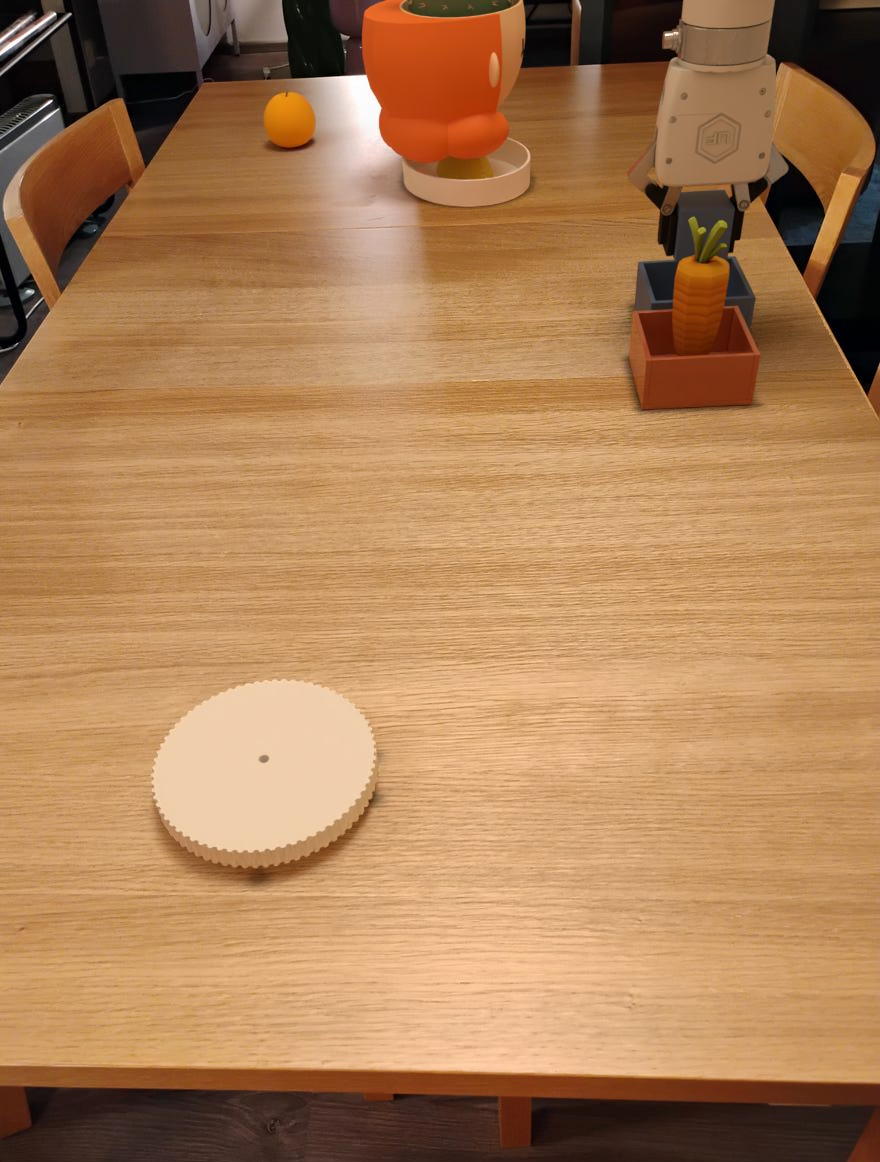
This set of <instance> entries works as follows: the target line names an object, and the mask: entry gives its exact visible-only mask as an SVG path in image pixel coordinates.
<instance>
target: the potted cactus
mask: <svg viewBox="0 0 880 1162" xmlns="http://www.w3.org/2000/svg"><path fill="white" fill-rule="evenodd" d="M526 26H527V25H526V11H525V6H524V0H382V1H379V2H377V3H375V4H373V5H370V6H369V7H368V8H367V9H365V10H364V13H363V18H362V27H361V28H362V30H361V49H362V50H361V51H362V52H361V53H362V60H363V66H364V72H365V75H366V78H367V82H368V85H369V89H370V90H371V92H372V94H373V96H374V97H375V99H376V101H377V103H378V104H379V107H380V112H379V116H378V128H379V130H378V131H379V134H380V136H381V139H382V141H383V143H385V144H386V146H388V147H389V148H391V149H392V151H393V152H394V153H396V154H397V155H399V156H400V157H401V161H402V173H403V174H402V175H403V184H404V186H405V188H406V190H407V191H408V192H410V193H411V194H413V195H414V196H415V197H417V198H420V199H421V200H424V201H427V202H430V203H434V204H438V205H444V206H448V207H449V206H451V207H463V208H471V207H473V208H474V207H475V208H476V207H485V206H486V207H487V206H493V205H497V204H502V203H506V202H509V201H511V200H514V199H516V198H518V197H520V196H521V195H523V194H524V193H525V192H526V191H527V190H528V189H529V187H530V185H531V152H530V150H529V149H528V148H527V147H526V146H525V145H524V144H523V143H521V142H520V141H517V140H516V139H513V138H511V137H508V136H509V134H510V126H509V122H508V120H507V118H506V117H505V115H503V113H501V112H500V111H498V109H499V108H500V107H501V105H502V104H503V103H504V102H505V101H506V99H507V98H508V96H509V94H510V93H511V92H512V91H513V88H514V86H515V84H516V81H517V79H518V76H519V74H520V70H521V67H522V63H523V59H524V57H525V44H526V28H527V27H526Z"/></svg>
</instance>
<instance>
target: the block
mask: <svg viewBox="0 0 880 1162" xmlns="http://www.w3.org/2000/svg"><path fill="white" fill-rule="evenodd" d="M734 211H735V208H734V206H733V204H732V202H731V200H730V196H729V194H728V193H727V191H726V189H711V190H710V189H709V190H693V191H681V193H680V196H679V198H678V201H677V203H676V213H677V215H678V223H677V232H676V241H675V250H674V255H672V258H673V260H674V261H675V263H679V261H681V260H682V259H683V258H686V257H689V256H692V255H695V245H694V240H693V235H692V231H691V228H690V225H689V221H688V220H689V219H690V218H692V217H695V218H696V220H697V223H698V227H699V228H701V227H704V228H705V229H706V234H705V237H704V240H703V245H702V250H703V247H704V245H705V242H706V240H707V238H708V236H709V234H710V232H711V230H712V228H713V227H714V225H715V224H716V223H717V222H718V221H721V220H723V221H725V222H726V223H727V229H726V230H725V232H724V233H723V235H722V236H721V238H720V239H719V240H718V242H717V243H716V245H715V246H714V248H715V247H716V246H717V245H719V244H721V243H724V244H726V245H727V248H725V249H724V250H723V251H721V252H720V253H718V254H717V255H716V256H718V257H720V258H722V259H724V260H727V259H728V256H729V253H728V252H729V245H730V238H731V231H732V225H733V218H734ZM714 248H713V249H714Z"/></svg>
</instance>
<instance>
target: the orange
mask: <svg viewBox="0 0 880 1162" xmlns="http://www.w3.org/2000/svg"><path fill="white" fill-rule="evenodd" d="M316 121H317V120H316V115H315V111H314V109H313V107H312V105H311V104H310V102H309V101H308V100H307V99H306V97H304V96H303V95H301V94H299V93H297V92H295V91H294V92H293V91H291V92H289V91H286V92H281V93H278V94H276V95H274V96H273V97H272V98H271V99H270V100H269V101H268V102H267V105H266V107H265V109H264V113H263V125H264V126H263V127H264V129H265V133H266V135H267V137H268V138H269V140H270V141H271V142H272V143H273V144H274V145H276V146H278V147H281V148H287V149H288V148H290V149H292V148H297V147H301V146H303V145H305V144H307V143H308V142H310V140H311V139H312V137H313V136H314V133H315V129H316V126H317V125H316V124H317V123H316Z"/></svg>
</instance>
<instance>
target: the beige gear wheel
mask: <svg viewBox="0 0 880 1162" xmlns="http://www.w3.org/2000/svg"><path fill="white" fill-rule="evenodd" d="M209 698H210V699H208V700H207V699H204V700H203V701H201V704H197V705H195V706H194V708H193V710H189V711H187V713H186V715H183V716H181V717H180V721H179V722H175V724H174V727H173V728H170V729H169V731H168V735H165V736H164V738H163V742H161V743H160V744H159V748H160V749H159V750H156V753H155V754H156V756H157V757H154V759H153V764H154V765H152V766H151V770H152V773H151V774H150V778H151V781H150V785H151V787H152V788H151V793H152V797H153V801H154V804H155V806H156V809H157V811H158V813H159V817H160V819H161V822H162V823H163V825H164V828H165V829H166V830H167V831H168V834H169V835H170V836H171V837H172V836H173V839H174V841H175V842H176V843H177V842H178V843H179V844H180V846H181V847H182V848H185V847H186V850H187V852H188V853H194V855H195V856H196V857H197V858H200V857H202V858H203V860H204V861H209V860H211V861H212V862H211V863H213V864H216V865H217V864H218V863H220V864H221V866H224V867H227V866H228V865H230V866H231V867H232V868H238V866H241V868H242V869H248V867H252V869H258V868H259V867H261V866H262V867H263V868H269V866H270V865H273V866H274V867H277V866H280V864H282V863H284V864H285V865H286V864H290V863H291V861H293V860H294V861H295V862H297V861H300V860H301V857H305V858H307V857H310V856H311V853H313V852H314V853H318V852H320V851H321V850H320V849H321V848H322V847H323V848H327V847H328V846H330V843H331V842H334V843H335V842H336V841H338V837H339V836H343V835H345V834H346V830H347V829H348V830H350V829H351V828H352V827H353V823H357V822H358V821H359V819H360V818H359V816H360V815H363V814H364V813H365V808H367V807H368V806H369V805H370V804H369V803H370V802H369V800H372V799H373V792H375V791H376V784H377V783H378V776H379V758H378V757H379V756H378V749H377V743H376V738H375V734H374V733H373V728H372V726H371V724H370V721H369V719H367V718H366V714H364V713H362V709H360V708H359V707H358V708H357V704H355V703H354V702H351V700H350V699H349V698H348V697H346V698H345V697H344V694H342V693H339V694H338V692H337V691H336V690H335V689H332V690H330V688H329V687H328V686H324V687H323V686H322V684H319V683H317V684H314V682H312V681H309V682H305V680H302V679H301V680H299V681H296V679H294V678H293V679H290V680H287V678H282V679H281V680H278V678H274V679H272V680H268V679H263V681H259V680H256V681H254V682H253V683H250V682H247V683H245V685H240V684H239V685H236V686H235V688H232V687H229V688H228V689H226V691H224V692H223V691H220V692H218V694H217V695H212V696H210V697H209Z"/></svg>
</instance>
